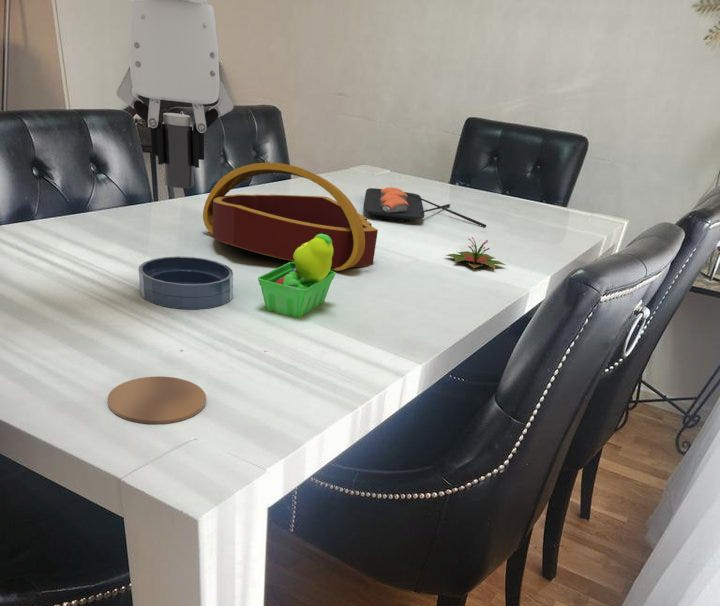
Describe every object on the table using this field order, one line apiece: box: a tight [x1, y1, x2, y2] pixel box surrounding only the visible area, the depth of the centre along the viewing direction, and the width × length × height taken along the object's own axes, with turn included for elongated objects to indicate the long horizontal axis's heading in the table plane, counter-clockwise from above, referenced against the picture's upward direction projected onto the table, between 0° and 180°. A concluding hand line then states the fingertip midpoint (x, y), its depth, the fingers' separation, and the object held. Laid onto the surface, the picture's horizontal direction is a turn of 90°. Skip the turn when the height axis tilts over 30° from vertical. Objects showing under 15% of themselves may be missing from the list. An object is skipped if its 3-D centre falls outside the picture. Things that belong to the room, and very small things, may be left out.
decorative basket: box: [202, 162, 379, 272], centre depth 116 cm, size 34×29×15 cm
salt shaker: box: [161, 112, 195, 189], centre depth 81 cm, size 4×4×8 cm
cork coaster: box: [107, 375, 207, 425], centre depth 69 cm, size 10×10×1 cm
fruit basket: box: [257, 234, 337, 319], centre depth 93 cm, size 11×9×11 cm
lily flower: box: [446, 236, 507, 270], centre depth 127 cm, size 12×12×5 cm
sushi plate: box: [363, 186, 487, 228], centre depth 160 cm, size 29×30×4 cm
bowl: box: [138, 255, 234, 310], centre depth 94 cm, size 13×13×4 cm
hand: (178, 162), depth 82 cm, fingers closed on salt shaker, 3 cm apart
